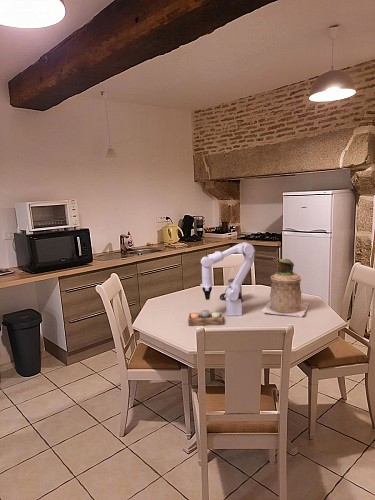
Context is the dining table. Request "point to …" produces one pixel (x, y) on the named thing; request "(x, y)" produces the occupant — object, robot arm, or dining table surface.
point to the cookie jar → (285, 292)
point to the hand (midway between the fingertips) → (207, 299)
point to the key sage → (215, 314)
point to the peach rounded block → (194, 315)
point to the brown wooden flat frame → (205, 320)
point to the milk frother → (239, 292)
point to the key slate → (205, 314)
